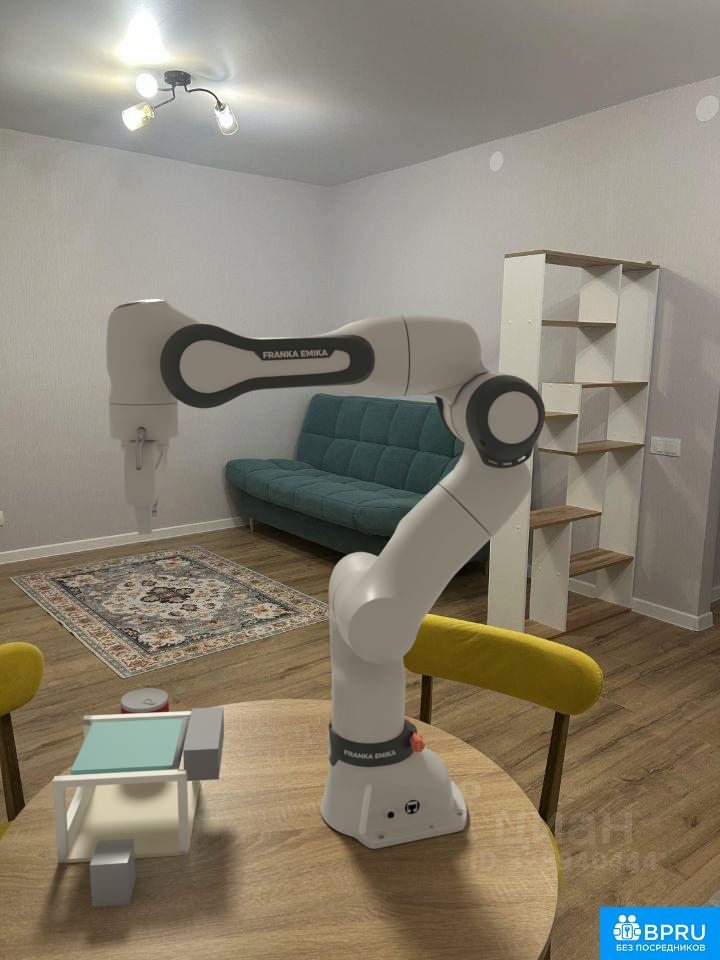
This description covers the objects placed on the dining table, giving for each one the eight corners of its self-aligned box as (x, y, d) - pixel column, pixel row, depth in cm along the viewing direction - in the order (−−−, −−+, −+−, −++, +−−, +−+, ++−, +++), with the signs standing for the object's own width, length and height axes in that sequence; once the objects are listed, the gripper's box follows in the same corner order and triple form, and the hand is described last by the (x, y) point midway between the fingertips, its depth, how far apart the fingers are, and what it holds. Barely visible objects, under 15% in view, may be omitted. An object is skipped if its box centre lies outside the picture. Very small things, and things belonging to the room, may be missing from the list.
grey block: (135, 878, 99) (133, 838, 97) (129, 904, 94) (127, 862, 93) (100, 880, 98) (98, 840, 97) (92, 906, 94) (89, 865, 92)
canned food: (158, 772, 123) (155, 711, 121) (114, 766, 124) (111, 706, 122) (178, 747, 130) (176, 690, 128) (136, 742, 132) (134, 685, 130)
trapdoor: (224, 731, 117) (223, 704, 116) (218, 783, 104) (217, 752, 103) (94, 738, 115) (93, 709, 114) (70, 791, 101) (68, 760, 100)
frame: (200, 781, 120) (198, 710, 118) (188, 854, 103) (185, 773, 101) (89, 787, 118) (84, 715, 116) (58, 863, 101) (52, 781, 99)
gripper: (163, 433, 89) (167, 543, 91) (172, 416, 109) (175, 507, 111) (109, 434, 88) (114, 545, 90) (128, 416, 107) (132, 508, 110)
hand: (148, 524), depth 101 cm, fingers open, 8 cm apart
